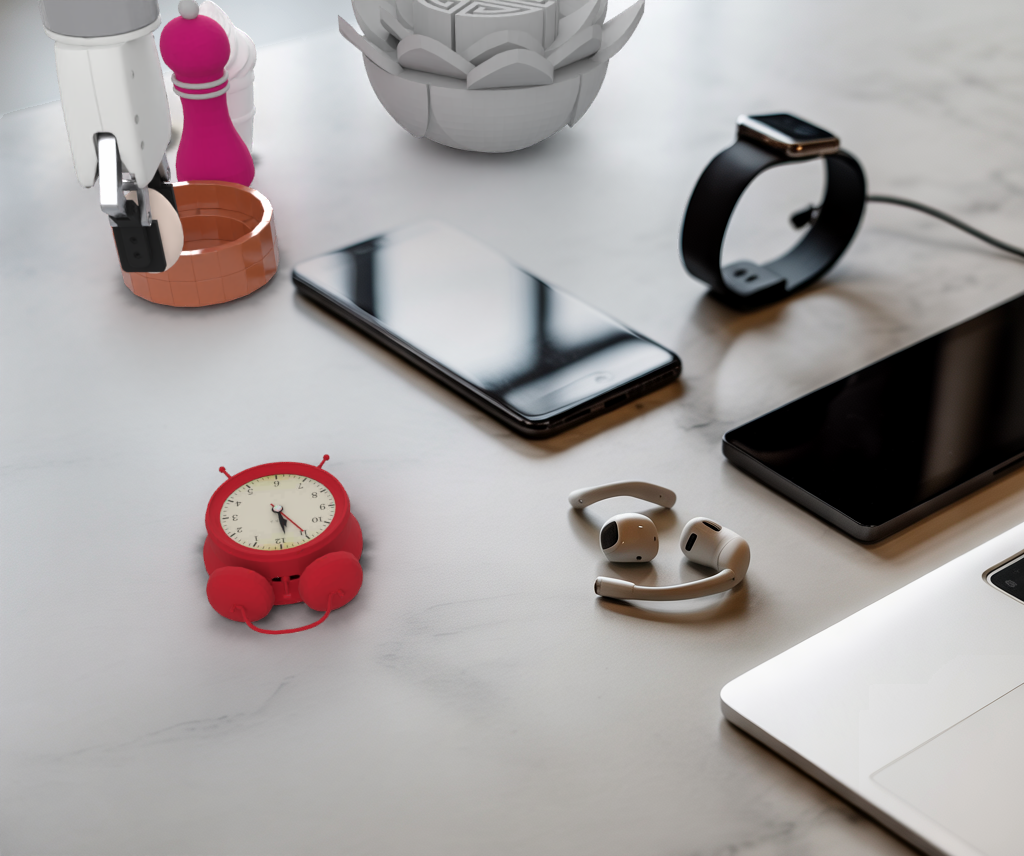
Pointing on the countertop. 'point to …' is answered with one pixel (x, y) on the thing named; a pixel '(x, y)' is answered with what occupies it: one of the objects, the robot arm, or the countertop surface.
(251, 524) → the alarm clock
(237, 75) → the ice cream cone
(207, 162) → the pepper mill
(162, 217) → the egg
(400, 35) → the decorative bowl
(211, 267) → the bowl
